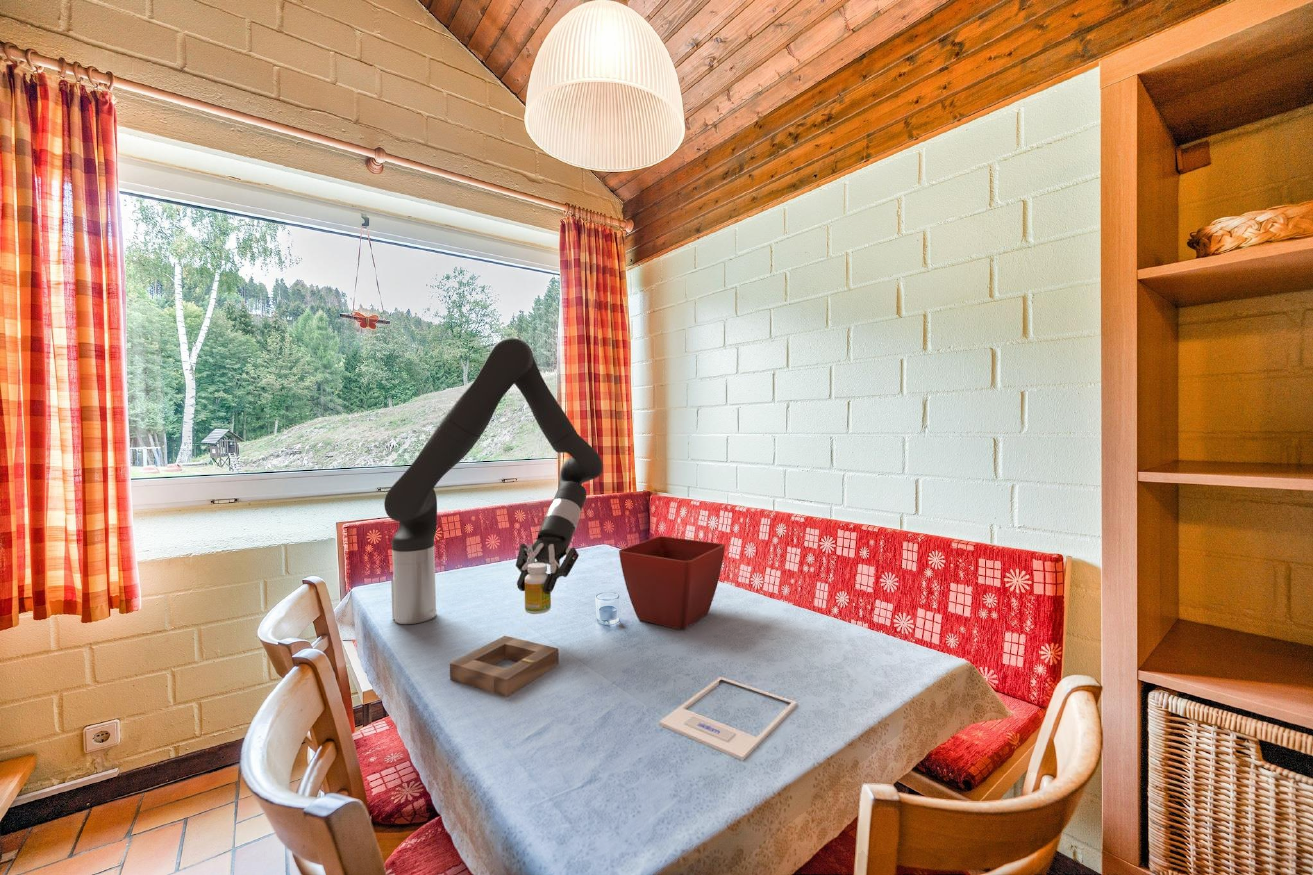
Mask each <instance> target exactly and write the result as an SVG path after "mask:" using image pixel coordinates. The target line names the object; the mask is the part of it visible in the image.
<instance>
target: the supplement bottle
mask: <svg viewBox="0 0 1313 875" xmlns="http://www.w3.org/2000/svg"><path fill="white" fill-rule="evenodd" d="M547 571H548V564H545V563H532V564H529V565H528V573H529V574H528V575H527V576H526V577H525V591H524V610H525V612H526V613H527V614H531V615H540V614H541V615H542V614H545V613H548V612H550V610H551V607H552V605H551V604H552V602H551V601H552V596H551V595H552V594H551V593H552V592H550V594H545V593H544V591H543V587H544V584H545V581H546V579H547V576H548V574H549V573H547Z"/></svg>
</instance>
